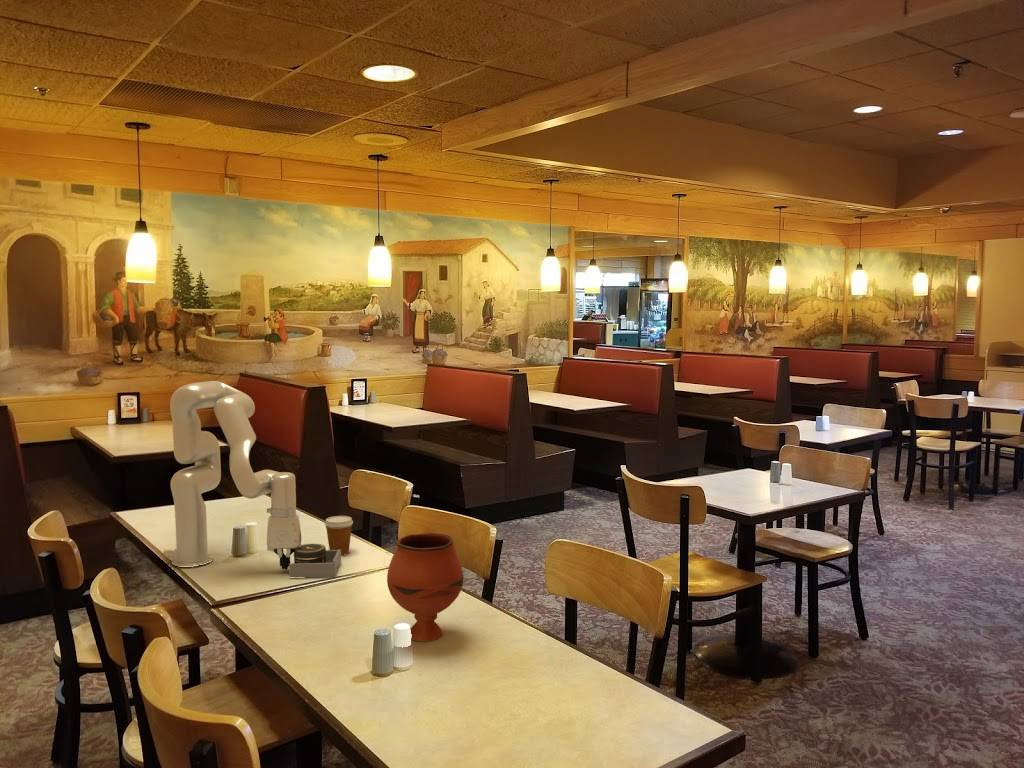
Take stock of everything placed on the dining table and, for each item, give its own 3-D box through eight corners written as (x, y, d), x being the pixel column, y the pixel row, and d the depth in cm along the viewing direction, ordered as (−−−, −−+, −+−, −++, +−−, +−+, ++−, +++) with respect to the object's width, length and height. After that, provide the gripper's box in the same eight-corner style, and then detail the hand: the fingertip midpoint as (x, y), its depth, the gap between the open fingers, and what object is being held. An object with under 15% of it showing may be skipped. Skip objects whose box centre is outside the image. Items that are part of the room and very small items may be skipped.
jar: (316, 577, 247) (316, 553, 246) (288, 574, 249) (287, 550, 248) (332, 567, 256) (331, 544, 256) (304, 564, 259) (303, 542, 258)
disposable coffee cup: (350, 557, 266) (349, 522, 265) (322, 557, 267) (321, 522, 265) (356, 549, 276) (355, 515, 275) (329, 549, 276) (328, 515, 275)
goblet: (474, 625, 209) (474, 533, 206) (444, 655, 191) (443, 554, 188) (409, 616, 215) (408, 526, 213) (374, 644, 197) (372, 546, 195)
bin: (289, 578, 245) (289, 563, 245) (297, 564, 259) (297, 549, 259) (335, 577, 247) (334, 561, 246) (341, 563, 260) (340, 548, 260)
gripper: (256, 515, 246) (258, 572, 248) (305, 514, 247) (306, 571, 249) (262, 509, 253) (263, 565, 255) (309, 508, 255) (311, 564, 256)
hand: (285, 568), depth 252 cm, fingers closed
